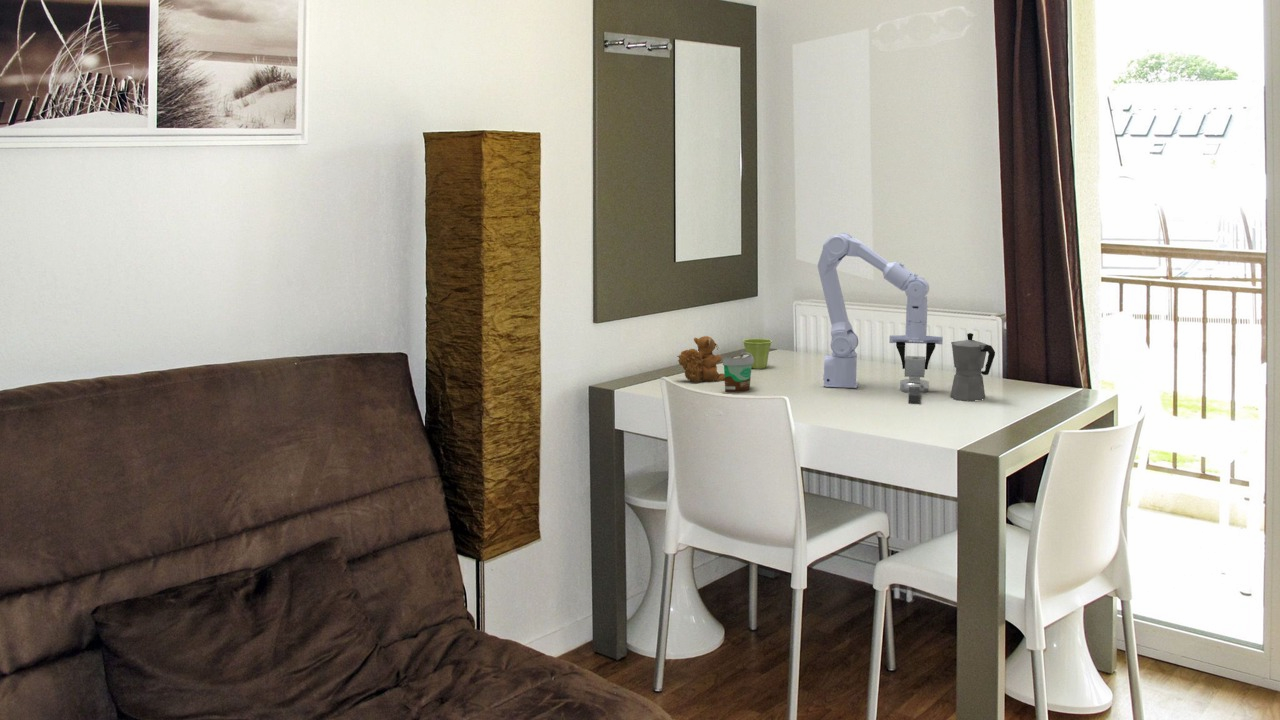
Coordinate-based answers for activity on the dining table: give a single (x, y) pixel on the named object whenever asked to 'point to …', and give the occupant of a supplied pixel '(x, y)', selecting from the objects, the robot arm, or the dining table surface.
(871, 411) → the dining table surface
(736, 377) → the food container
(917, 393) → the ratchet
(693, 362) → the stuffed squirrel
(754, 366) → the plant pot
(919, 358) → the grey cube
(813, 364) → the dining table surface
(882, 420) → the dining table surface
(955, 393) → the coffeepot
